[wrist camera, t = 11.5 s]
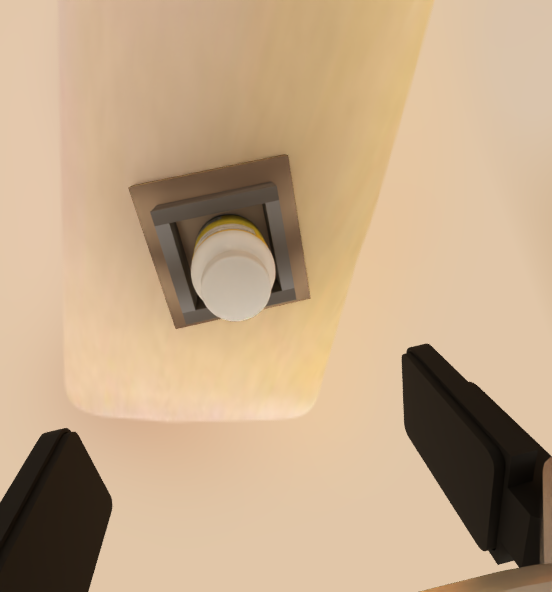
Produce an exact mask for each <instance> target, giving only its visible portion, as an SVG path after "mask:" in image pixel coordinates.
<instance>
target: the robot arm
mask: <svg viewBox="0 0 552 592" xmlns="http://www.w3.org/2000/svg"><path fill="white" fill-rule="evenodd" d="M402 378H403V404H404V425H405V429H406V432H407V435H408V436H409V438H410V440H411V441H412V443H413V445H414V446H415V448H416V449H417V451H418V452H419V454H420V455H421V457H422V459H423V460H424V462H425V463H426V465H427V467H428V468H429V470H430V471H431V473H432V474H433V476H434V478H435V479H436V481H437V482H438V484H439V485H440V487H441V489H442V490H443V492H444V493H445V495H446V496H447V498H448V500H449V501H450V503H451V504H452V506H453V507H454V509H455V510H456V512H457V514H458V515H459V517H460V518H461V520H462V522H463V523H464V525H465V526H466V528H467V529H468V531H469V532H470V534H471V536H472V537H473V539H474V540H475V542H476V543H477V545H478V546H479V548H480V549H481V550H483V551H487V550H488V551H489V552H490V554H491V555H492V556H493V558H494V560H495V561H496V563H497V564H498V565H499V564H502V563H506V562H510V561H515V562H516V564H517V565H518V567H519V568H516V569H510V570H505V571H500V572H496V573H492V574H488V575H484V576H480V577H476V578H471V579H468V580H463V581H459V582H456V583H451V584H447V585H444V586H439V587H435V588H431V589H427V590H424V591H420V592H552V456H551V455H549V453H547V452H546V451H545V450H544V449H543V448H542V447H541V446H540V445H539V444H538V443H537V442H536V441H535V440H534V439H533V438H532V437H530V435H529V434H528V433H526V432H525V431H524V430H523V429H522V428H521V427H520V426H519V425H518V424H517V423H516V422H515V421H514V420H513V419H512V418H511V417H510V416H509V415H508V414H507V413H506V412H504V411H503V410H502V409H501V408H500V407H499V406H498V405H497V404H496V403H495V402H494V401H493V400H492V399H491V398H490V397H489V396H488V395H487V394H485V392H483V391H482V390H481V389H480V388H479V387H478V386H477V385H476V384H474V383H472V382H468V381H467V380H466V379H465V378H464V377H463V376H461V375H460V374H459V372H457V371H456V370H455V369H454V368H453V367H452V366H451V365H450V364H449V363H448V362H447V361H446V360H445V359H444V358H443V357H442V356H441V355H440V354H439V353H438V352H437V351H436V350H435V349H434V348H433V347H432V346H431V345H429V344H423V345H419V346H414V347H410V348H408V349H407V354H403V355H402ZM111 511H112V499H111V496H110V494H109V492H108V490H107V488H106V486H105V484H104V483H103V481H102V479H101V477H100V475H99V473H98V471H97V470H96V468H95V466H94V464H93V462H92V460H91V458H90V456H89V454H88V453H87V451H86V449H85V447H84V445H83V443H82V441H81V439H80V437H79V435H78V434H77V433H76V432H71V431H70V430H69V429H68V428H64V429H59V430H55V431H51V432H47V433H44V434H42V435H41V437H40V438H39V440H38V441H37V443H36V444H35V446H34V448H33V449H32V451H31V453H30V454H29V456H28V458H27V459H26V461H25V463H24V464H23V466H22V468H21V469H20V471H19V473H18V474H17V476H16V478H15V479H14V481H13V483H12V484H11V486H10V487H9V489H8V491H7V493H6V494H5V496H4V497H3V499H2V501H1V502H0V592H88V591H89V587H90V584H91V580H92V577H93V573H94V570H95V566H96V563H97V560H98V556H99V553H100V549H101V546H102V542H103V539H104V535H105V532H106V529H107V525H108V521H109V518H110V515H111Z"/></svg>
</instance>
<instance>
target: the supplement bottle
mask: <svg viewBox="0 0 552 592" xmlns="http://www.w3.org/2000/svg"><path fill="white" fill-rule="evenodd" d="M191 279H192V283H193V286H194V288H195V290H196V292H197V294H198V295H199V297H200V298H201V299H202V300H203V301H204V303H205V305H206V307H207V308H208V309H209V310H210V311H211V312H212V313H213V314H214V315H216V316H217V317H219V318H221V319H224V320H228V321H244V320H247V319H250V318H252V317H254V316H256V315H257V314H258V313H260V312H261V311H262V310H263V309H264V307H265V306H266V304H267V303H268V301H269V298H270V294H271V289H272V287H273V284H274V280H275V263H274V259H273V256H272V254H271V252H270V250H269V248H268V246H267V244H266V242H265V240H264V238H263V236H262V234H261V233H260V231H259V229H258V228H257V227H256V226H255V224H254V223H253V222H251V221H250V220H249V219H247V218H245V217H243V216H240V215H237V214H221V215H218V216H215V217H213V218H212V219H210V220H209V221H207V222H206V223H205V224H204V225H203V227H202V228H201V229H200V231H199V233H198V236H197V239H196V243H195V248H194V254H193V258H192V265H191Z"/></svg>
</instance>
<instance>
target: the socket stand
mask: <svg viewBox="0 0 552 592" xmlns="http://www.w3.org/2000/svg"><path fill="white" fill-rule="evenodd" d="M129 191H130V194H131V197H132V200H133V203H134V206H135V209H136V212H137V215H138V218H139V221H140V224H141V227H142V230H143V233H144V236H145V239H146V242H147V245H148V248H149V251H150V254H151V257H152V260H153V263H154V266H155V269H156V272H157V274H158V277H159V280H160V283H161V286H162V289H163V292H164V295H165V298H166V301H167V304H168V307H169V310H170V313H171V316H172V319H173V322H174V325H175V328H176V329H178V328H183V327H187V326H191V325H196V324H200V323H205V322H209V321H213V320H218V319H221V318H219V317H217V316H216V315H214V314H213V313H212V312H211V311H210V310H209V309H208V308H207V307H206V305H205V303H204V301H203V300H202V299H201V298H200V297H199V295H198V294H197V292H196V290H195V288H194V286H193V283H192V279H191V265H192V258H193V254H194V248H195V243H196V239H197V236H198V233H199V231H200V229H201V228H202V227H203V225H204V224H205V223H206V222H207V221H209V220H210V219H212V218H213V217H215V216H218V215H221V214H237V215H240V216H243V217H245V218H247V219H249V220H250V221H251V222H253V223H254V224H255V226H256V227H257V228H258V229H259V231H260V233H261V234H262V236H263V238H264V240H265V242H266V244H267V246H268V248H269V250H270V252H271V254H272V256H273V259H274V263H275V280H274V284H273V287H272V289H271V294H270V298H269V301H268V303H267V304H266V306H265V307H264V309H266V308H271V307H275V306H279V305H284V304H288V303H293V302H297V301H301V300H306V299H310V292H309V286H308V279H307V273H306V267H305V260H304V254H303V248H302V241H301V235H300V229H299V222H298V216H297V209H296V203H295V197H294V190H293V184H292V178H291V171H290V165H289V159H288V155H280V156H275V157H270V158H266V159H261V160H256V161H251V162H246V163H241V164H236V165H231V166H226V167H221V168H216V169H211V170H206V171H202V172H197V173H192V174H187V175H182V176H177V177H172V178H167V179H162V180H157V181H152V182H147V183H142V184H138V185H133V186H131V187H129Z"/></svg>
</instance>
